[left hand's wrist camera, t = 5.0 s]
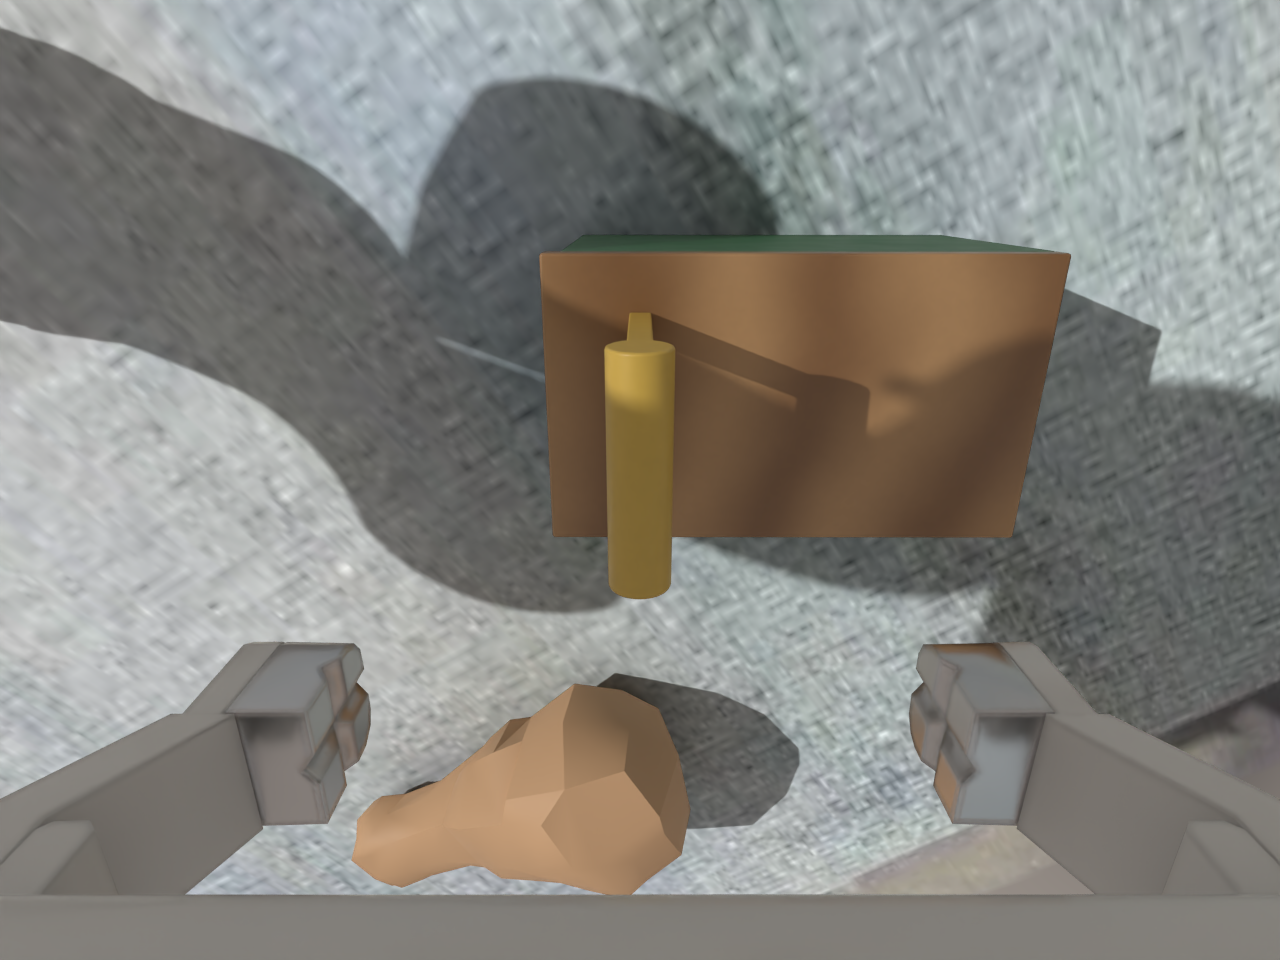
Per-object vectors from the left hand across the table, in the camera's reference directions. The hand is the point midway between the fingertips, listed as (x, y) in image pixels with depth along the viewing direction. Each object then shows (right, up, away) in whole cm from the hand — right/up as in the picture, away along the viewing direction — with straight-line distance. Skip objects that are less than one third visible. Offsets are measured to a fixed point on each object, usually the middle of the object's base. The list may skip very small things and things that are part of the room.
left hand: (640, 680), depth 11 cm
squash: (-7, -14, +33) cm, 36 cm away
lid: (+5, +6, +15) cm, 16 cm away
